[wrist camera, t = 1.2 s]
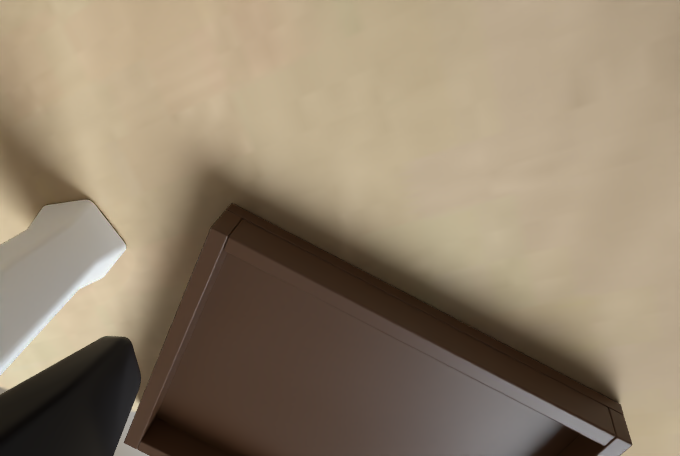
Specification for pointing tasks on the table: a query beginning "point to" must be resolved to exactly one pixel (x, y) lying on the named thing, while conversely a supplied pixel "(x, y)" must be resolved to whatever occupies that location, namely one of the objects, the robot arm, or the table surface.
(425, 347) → the tray
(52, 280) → the perfume bottle
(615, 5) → the table surface
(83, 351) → the robot arm
